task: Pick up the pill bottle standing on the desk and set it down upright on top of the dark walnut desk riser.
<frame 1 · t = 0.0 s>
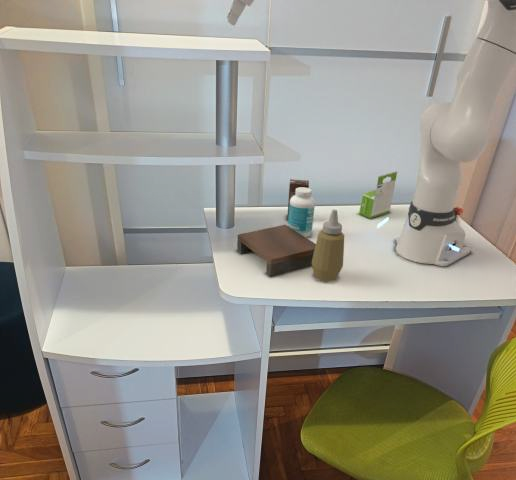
hand: (230, 22, 110), 54 cm above the table, tool tilted 30°, fingers open, 8 cm apart
riser: (277, 257, 140), on the table
ink box: (374, 214, 170), on the table
pill bottle: (299, 234, 154), on the table
squeeze bottle: (325, 277, 132), on the table
box: (296, 219, 163), on the table
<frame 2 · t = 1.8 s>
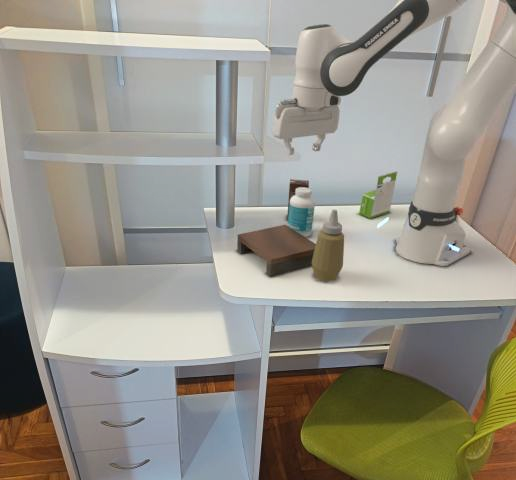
hand: (303, 152, 139), 24 cm above the table, tool pointing down, fingers open, 8 cm apart
nothing on the table moved.
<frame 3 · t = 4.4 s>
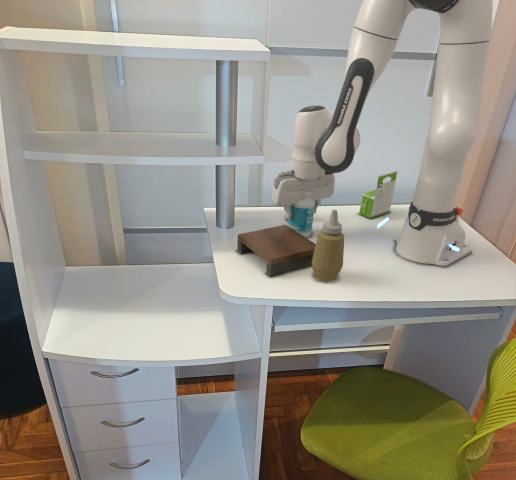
hand: (300, 215, 151), 6 cm above the table, tool pointing down, fingers closed on pill bottle, 7 cm apart
pill bottle: (299, 234, 154), on the table, touching gripper
everything else where it was.
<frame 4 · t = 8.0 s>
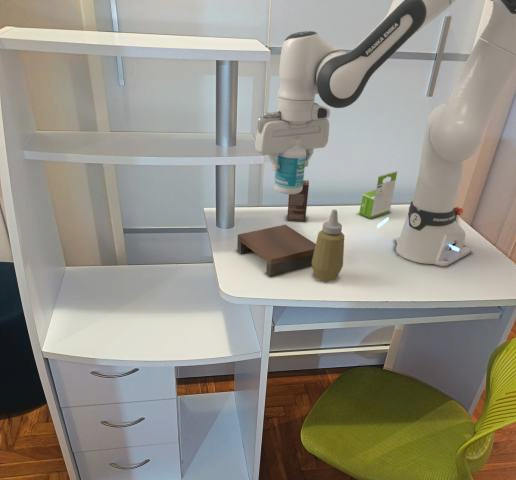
hand: (290, 168, 130), 23 cm above the table, tool pointing down, fingers closed on pill bottle, 7 cm apart
pill bottle: (288, 191, 133), point 17 cm above the table, touching gripper
everything else where it was.
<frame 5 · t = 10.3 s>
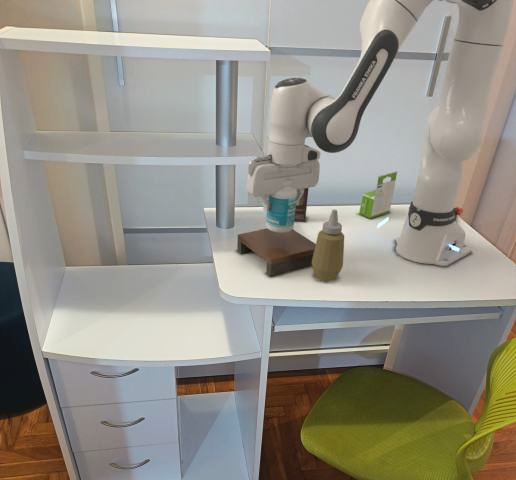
hand: (281, 207, 132), 14 cm above the table, tool pointing down, fingers closed on pill bottle, 7 cm apart
pill bottle: (279, 229, 135), point 8 cm above the table, touching gripper
everything else where it was.
when the fingers open (11 cm above the table, at t = 11.9 s): pill bottle stays where it is, resting on riser.
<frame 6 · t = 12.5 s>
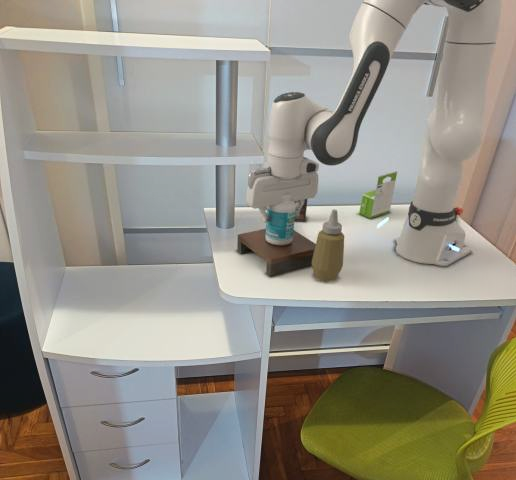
hand: (280, 218, 133), 11 cm above the table, tool pointing down, fingers open, 8 cm apart
pill bottle: (278, 241, 137), point 5 cm above the table, touching riser
everything else where it was.
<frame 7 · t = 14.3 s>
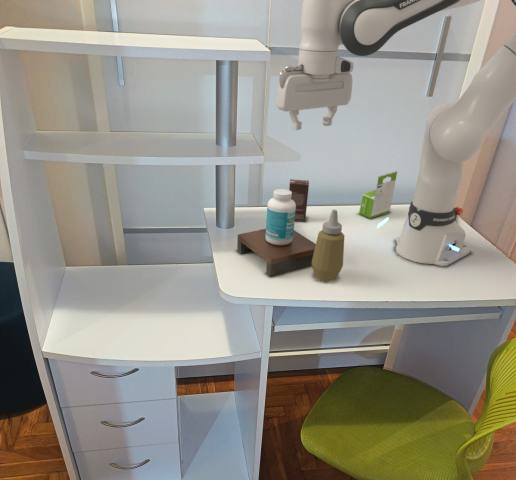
hand: (312, 127, 125), 33 cm above the table, tool pointing down, fingers open, 8 cm apart
nothing on the table moved.
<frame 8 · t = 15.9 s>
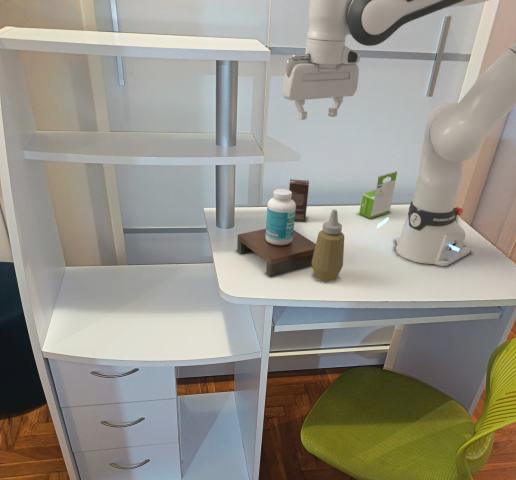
hand: (317, 117, 125), 35 cm above the table, tool pointing down, fingers open, 8 cm apart
nothing on the table moved.
at the end: pill bottle inside the target area on the riser (0.0 cm from its centre), point 4.8 cm above the riser's base; pill bottle tilted 0°; the gripper is holding nothing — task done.
